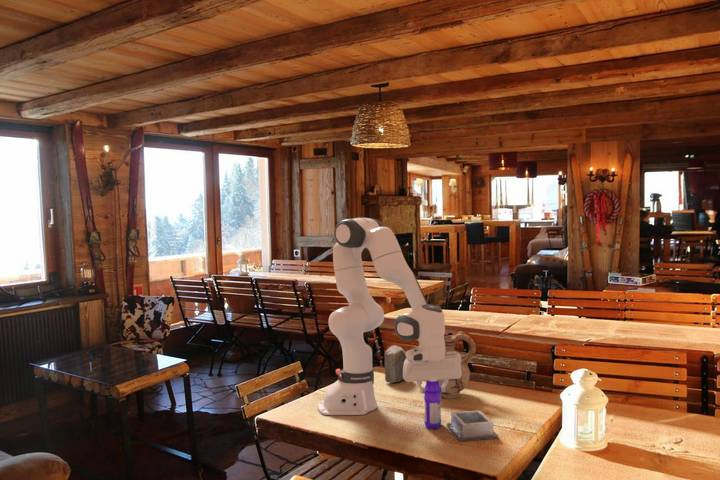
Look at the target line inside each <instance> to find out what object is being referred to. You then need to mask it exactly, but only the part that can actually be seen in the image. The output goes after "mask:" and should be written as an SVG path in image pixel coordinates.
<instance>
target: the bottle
mask: <svg viewBox="0 0 720 480" xmlns="http://www.w3.org/2000/svg"><path fill="white" fill-rule="evenodd" d="M424 388H425V394H423V396H424V397H423V399H424V400H423V401H424V421H423V422H424V425H425V427H426V428H427V429H434V430H436V429H440V426H441V424H442V412H441V411H442V409H441V406H442V405H441V403H442V402H441V401H442V396H441V394H440V390H441V388H440V386H439V382H438V380H437V378H431V379H430V381H425V385H424Z"/></svg>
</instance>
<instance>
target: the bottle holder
mask: <svg viewBox="0 0 720 480" xmlns="http://www.w3.org/2000/svg"><path fill="white" fill-rule="evenodd" d="M446 428H447V429H448V430H449V431H450V432H451V434H452V435H453V436H454V437H455V438H456V439H457V440H458V442H459V443H462V442H472V441H484V440H496V438H497V439H499V435H498V434H497V433H496V432H495V431H494V421H492V420H491V419H490V418H489V417H488V416H487V415H486V414H485V413H484V412H483V411H482V410H480V409H479V410H467V411H465V410H464V411H456V412H455V411H453V412H451V413H450V422H449V423H446Z"/></svg>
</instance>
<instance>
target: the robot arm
mask: <svg viewBox="0 0 720 480" xmlns="http://www.w3.org/2000/svg"><path fill="white" fill-rule="evenodd" d="M333 233H334V235H333V236H334V239H335V241H336V243H335V244H334V245H333V246H332V261H333V271H334V272H333V273H334V277H335V283H336V288H337V291H338V293H339V294H341V295H343V297H345V299H346V300H347V303H348V306H347V305H346V306H342V307H340V308H338V309H335V310H334V311H333V312H331V313H330V314H329V317H328V323H327V324H328V327H329V330H330V332H331V334H333V335H334V336H335V337H336V338H337V340H338V341H339V343H340V346H341V349H342V350H341V351H342V362H343V363H342V364H343V365H342V366H343V368H342V369H340V368H337V369H335V374H336V375H337V380H336V381H335V382H334V383H332V384H331V385H329V386H328V387H327V388H326V389H325V392H324V394H323V399H322V400H320V401H319V402H318V404H317V410H318V412H319V413H320V414H322V415H324V416H364V415H366V414H368V413H369V412H371V411H374V410H375V409H377V407H378V404H377V399H376V395H375V390H374V389H375V388H374V383H375V371H374V369H373V349H372V347H371V346H370V345H369V344H367V343H366V341H365V339H364V333H366V332H371V331H373V330H375V329H377V328H378V327H380V326H381V325H382V324H383V323H384V320H385V312H384V311H385V310H383V307H382V306H381V305H380V304H379V303H377V302H376V300H374V297H372V294H371V293H370V291H369V288H368V286H367V281H366V275H365V270H364V265H363V260H362V252H363V251H364V250H366V251H367V250H368V251H369V254H370V257H371V260H372V263H373V267H374V270H375V271H376V273H377V275H378V276H379V277H380V278H381V279H382V280H384V281H385V282H388V283H392V284H394V285H396V286H398V288H399V287H400V289H401V290H402V291H403V292H404V294H405V296H406V298H407V302H408V304H409V305H410V308H411V310H412V311H409V312H405V313H402V314H400V315H398V316H397V317H396V318H395V320H394V331H395V334H396V336H397V337H398V338H399V339H400V340H402V341H407V342H408V341H409V342H410V341H411V342H412V341H418V346H416V347H414V348H412V349H409V350H407V351H405V354H406V358H405V359H406V360H405V361H404V365H403V378H404V379H403V380H405V382H406V383H414V382H415V383H416V384H417V386H418V387H419V393H420V395H422V394H423V395H425V388H424V387H425V386H424V387H423V386H422V385H423V382H426V381H430V379H431V378H437V380H443V381H444V382H443V384H442V386H440V388H441V390H440V392H445V387H446V386H447V384H448V379H460V377H461V376H462V371H461V364H460V363H461V360H462V355H461V353H460V352H458V351H457V350H455V351H453V352H445V341H444V336H445V333H446V321H445V320H446V319H445V314H444V311H443V308H441V307H439V306H438V305H435V304H429V303H428V301H427V299H426V296H425V293H424V292H423V290H422V287H421V285H420V282H419V281H418V279H417V276H416V275H415V273H414V272H413V271H412V269H411V268H410V266H409V265H408V263H407V261H406V258H405V257H404V255H403V252H402V249H401V246H400V244H399V241H398V239H397V237H396V235H395V234H394V232H393V230H392V229H391V228H390V227H388V226H384V224H383V223H382V222H381V221H380V220H378V219H376V218H373V217H355V218H347V219H343V220H341V221H339V222H338V223H337V224H336V226H335V227H334V232H333Z"/></svg>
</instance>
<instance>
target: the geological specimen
mask: <svg viewBox="0 0 720 480" xmlns="http://www.w3.org/2000/svg"><path fill="white" fill-rule="evenodd" d="M383 355H384V378H385V382H386V383H390V384H391V383H393V384H394V383H397V382H400V381H403V380H404V378H403V365H404V361H405V360H406V359H407V357H406V351H405V350H404V349H403V348H402V347H401V346H398V345H396V344H392V345H390V346H388V347H387V349H386V350H385V352H384V354H383Z"/></svg>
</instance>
